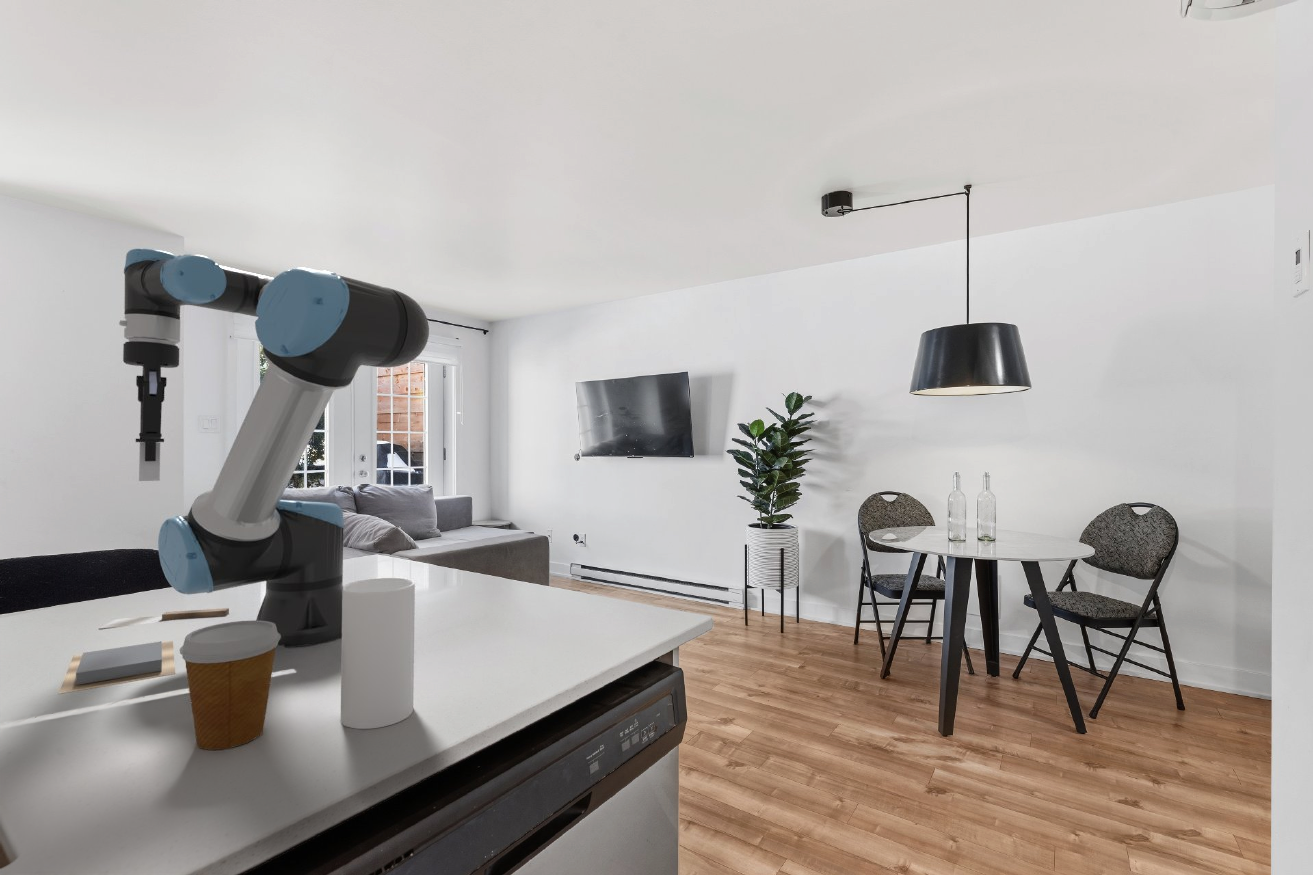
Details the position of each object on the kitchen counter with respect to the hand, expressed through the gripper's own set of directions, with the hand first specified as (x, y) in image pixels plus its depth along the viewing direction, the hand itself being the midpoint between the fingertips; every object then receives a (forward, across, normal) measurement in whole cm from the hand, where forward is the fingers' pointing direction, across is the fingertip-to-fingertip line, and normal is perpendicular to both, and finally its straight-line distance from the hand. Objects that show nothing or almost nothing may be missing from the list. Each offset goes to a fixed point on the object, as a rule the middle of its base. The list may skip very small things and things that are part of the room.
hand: (149, 480), depth 109 cm
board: (+26, +18, -3) cm, 32 cm away
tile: (+25, +15, -3) cm, 29 cm away
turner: (+27, -8, +3) cm, 28 cm away
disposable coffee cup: (+26, +53, +6) cm, 60 cm away
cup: (+26, +58, +20) cm, 66 cm away
